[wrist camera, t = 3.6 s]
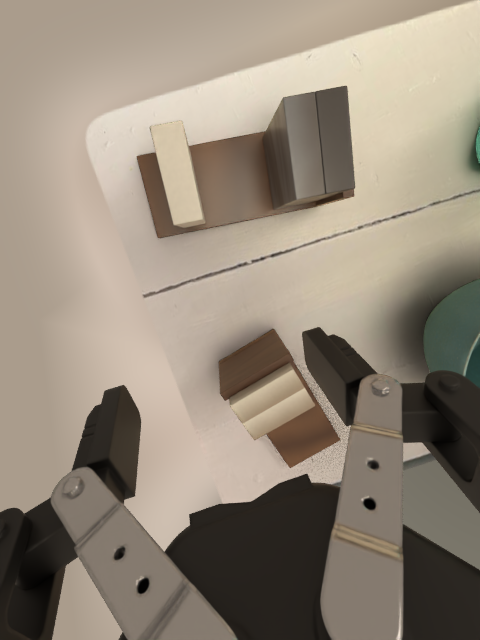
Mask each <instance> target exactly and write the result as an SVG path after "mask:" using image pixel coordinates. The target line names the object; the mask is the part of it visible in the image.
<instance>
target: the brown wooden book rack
mask: <svg viewBox="0 0 480 640" xmlns="http://www.w3.org/2000/svg"><path fill="white" fill-rule="evenodd" d="M293 361H294V359H293V358H292V356H291V354H290V353H289V351H288V350H287V348H286V347H285V345H284V344H283V342H282V341H281V339H280V338H279V336H278V334H277V333H276V331H275V330H274V329H272V330H271V331H269V332H267V333H266V334H264V335H262V336H261V337H259V338H257V339H256V340H254V341H252V342H251V343H249V344H247V345H246V346H244V347H242V348H241V349H239V350H237V351H236V352H234V353H232V354H231V355H229V356H227V357H226V358H224V359H222V360H221V361H219V378H220V394H221V396H222V397H223V398H224V400H225V401H226V400H228V399H229V401H230V407H231V408H232V410H233V411H234V413H235V414H236V415H237V417H238V418H239V420H240V421H241V422H242V424H243V425H244V427H245V428H246V429H247V431H248V432H249V434H250V435H251V436H252V438H253V439H254V440H256V439H258V438H260V437H262V436H263V435H265V434H267V436H268V437H269V438H270V440H271V441H272V443H273V444H274V446H275V447H276V449H277V450H278V451H279V453H280V454H281V456H282V457H283V459H284V460H285V462H286V463H287V465H288V466H289V467H290V468H291V467H293V466H295V465H297V464H298V463H300V462H302V461H304V460H305V459H307V458H309V457H311V456H313V455H314V454H316V453H318V452H320V451H322V450H323V449H325V448H327V447H329V446H331V445H332V444H334V443H336V442H338V441H340V438H339V437H338V435H337V433H336V432H335V430H334V428H333V427H332V425H331V423H330V422H329V420H328V418H327V417H326V415H325V413H324V412H323V410H322V408H321V407H320V405H319V403H318V402H317V400H316V398H315V397H314V395H313V393H312V392H311V390H310V388H309V387H308V385H307V383H306V382H305V380H304V378H303V377H302V375H301V373H300V372H299V370H298V368H297V367H296V365H295V363H294V362H293Z"/></svg>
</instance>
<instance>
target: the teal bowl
mask: <svg viewBox="0 0 480 640" xmlns="http://www.w3.org/2000/svg"><path fill="white" fill-rule="evenodd" d="M423 346H424V354H425V359H426V362H427V365H428V368H429V370H430V373H431V372H433V371H438V370H447V371H453V372H456V373H459V374H461V375H463V376H465V377H466V378H468V379H469V380H470V381H471V382H473V383H474V384H475V385H476V386H478V387H479V388H480V279H477V280H475V281H472V282H470V283H468V284H466V285H464V286H462V287H460V288H459V289H457V290H455V291H454V292H452V293H451V294H449V295H448V296H447V297H445V298H444V299H443V300H442V301H441V302H440V303H439V304H438V305H437V306H436V307H435V308H434V309H433V311H432V312H431V313H430V315H429V317H428V319H427V321H426V324H425V328H424V336H423Z"/></svg>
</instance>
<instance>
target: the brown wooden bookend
mask: <svg viewBox="0 0 480 640" xmlns="http://www.w3.org/2000/svg"><path fill="white" fill-rule="evenodd" d="M189 149H190V153H191V158H192V162H193V167H194V171H195V176H196V181H197V185H198V190H199V195H200V199H201V204H202V209H203V213H204V218H205V224H201V225H196V226H191V227H186V228H183V227H179V226H176V225H174V224H173V220H172V216H171V212H170V208H169V204H168V200H167V196H166V192H165V188H164V184H163V180H162V175H161V171H160V167H159V163H158V159H157V155H156V153H150V154H145V155H140V156H137V160H138V164H139V167H140V171H141V175H142V179H143V183H144V186H145V190H146V194H147V198H148V202H149V206H150V209H151V213H152V217H153V221H154V225H155V228H156V232H157V236H158V238H162V237H167V236H172V235H177V234H182V233H187V232H192V231H197V230H202V229H207V228H212V227H217V226H222V225H227V224H232V223H237V222H242V221H247V220H252V219H257V218H262V217H267V216H272V215H277V214H282V213H287V212H292V211H297V210H302V209H307V208H311V207H316V206H321V205H325V204H329V203H332V202H336V201H339V200H343V199H347V198H350V197H354V188H355V181H354V168H353V155H352V142H351V129H350V116H349V103H348V90H347V86H342V87H336V88H331V89H326V90H320V91H316V92H310V93H305V94H300V95H294V96H289V97H284V98H283V99H282V101H281V103H280V105H279V107H278V109H277V111H276V113H275V114H274V116H273V118H272V120H271V122H270V124H269V126H268V128H267V130H266V131H265V132H260V133H254V134H249V135H244V136H239V137H234V138H228V139H223V140H218V141H213V142H208V143H202V144H197V145H192V146H189Z"/></svg>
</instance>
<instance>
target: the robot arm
mask: <svg viewBox="0 0 480 640" xmlns="http://www.w3.org/2000/svg"><path fill="white" fill-rule="evenodd" d="M302 337H303V346H304V356H305V362H306V365H307V368H308V370H309V372H310V373H311V375H312V376H313V378H314V379H315V381H316V382H317V384H318V385H319V387H320V388H321V389H322V391H323V392H324V394H325V395H326V397H327V398H328V400H329V401H330V403H331V404H332V406H333V407H334V409H335V410H336V412H337V413H338V415H339V416H340V418H341V419H342V421H343V422H344V424H345V425H346V426H349V425H351V428H350V433H349V439H348V445H347V451H346V457H345V463H344V469H343V475H342V481H341V487H338V486H334V485H331V484H326V483H311V481H310V479H309V477H308V474H305V475H302V476H299V477H296V478H293V479H290V480H287V481H285V482H282V483H279V484H277V485H276V486H274V487H273V488H271V489H270V490H268V491H267V492H266V493H264V494H263V495H261V496H260V497H258V498H257V499H255V500H253V501H251V502H243V503H228V504H218V505H215V506H212V507H209V508H206V509H203V510H201V511H198V512H195V513H192V514H189V517H190V526H188V527H187V528H186V529H184V530H183V531H182V532H181V533H180V534H179V535H178V536H177V537H176V538H175V539H174V540H173V541H172V542H171V544H170V545H169V546H168V548H167V549H166V551H165V552H164V551H163V550H162V549H161V548H160V546H159V545H158V544H157V543H156V542H155V541H154V539H153V538H152V537H151V536H150V535H149V534H148V533H147V531H146V530H145V529H144V528H143V527H142V526H141V524H140V523H139V522H138V521H137V520H136V518H135V517H134V516H133V515H132V514H131V513H130V511H129V510H128V509H127V508H126V507H125V506H124V500H125V499H128V498H131V497H134V496H135V489H136V477H137V466H138V454H139V442H140V431H141V418H140V414H139V411H138V408H137V407H136V405H135V403H134V401H133V399H132V397H131V395H130V393H129V392H128V390H127V388H126V387H125V386H124V385H122V386H118V387H115V388H112V389H108V390H106V391H105V392H104V395H103V399H102V403H101V404H100V405H97V406H95V407H94V408H93V410H92V411H91V413H90V414H89V416H88V417H87V420H86V424H85V430H84V431H83V434H82V439H81V441H80V444H79V448H78V451H77V454H76V458H75V461H74V465H73V468H72V471H71V472H70V473H68V474H67V475H66V476H65V477H63V478H62V479H61V480H60V481H59V482H58V484H57V485H56V487H55V488H54V490H53V492H52V496H51V498H49V499H48V500H46V501H45V502H43V503H41V504H40V505H38V506H37V507H35V508H33V509H31V510H30V511H28V512H27V513H25V514H24V513H23V512H22V511H21V510H20V509H18V508H10V509H7V510H4V511H2V512H0V640H52V636H53V631H54V626H55V620H56V615H57V609H58V604H59V599H60V594H61V589H62V583H63V578H64V573H65V567H66V565H67V564H69V563H70V562H71V561H73V560H74V559H76V558H77V557H79V559H80V560H81V562H82V564H83V565H84V567H85V569H86V571H87V572H88V574H89V576H90V577H91V579H92V581H93V582H94V584H95V586H96V587H97V589H98V591H99V592H100V594H101V596H102V598H103V599H104V601H105V603H106V604H107V606H108V608H109V609H110V611H111V613H112V614H113V616H114V618H115V619H116V621H117V623H118V625H119V626H120V628H121V629H122V631H123V632H122V634H121V636H120V638H119V640H480V570H479V569H477V568H475V567H474V566H472V565H470V564H469V563H467V562H465V561H464V560H462V559H460V558H459V557H457V556H455V555H454V554H452V553H450V552H449V551H447V550H445V549H444V548H442V547H440V546H439V545H437V544H435V543H434V542H432V541H430V540H429V539H427V538H425V537H424V536H422V535H420V534H419V533H417V532H415V531H413V530H412V529H410V528H409V527H407V526H405V525H404V524H403V443H412V442H422V443H423V444H424V445H425V446H426V447H427V449H428V450H429V451H430V452H431V454H432V455H433V456H434V457H435V458H436V460H437V461H438V462H439V463H440V464H441V466H442V467H443V468H444V470H445V471H446V472H447V473H448V474H449V476H450V477H451V478H452V479H453V480H454V482H455V483H456V484H457V485H458V487H459V488H460V489H461V490H462V492H463V493H464V494H465V495H466V497H467V498H468V499H469V500H470V501H471V503H472V504H473V505H474V506H475V508H476V509H477V510H478V511H479V513H480V388H479V387H478V386H476V385H475V384H474V383H473V382H471V381H470V380H469V379H468V378H466V377H465V376H463V375H461V374H459V373H456V372H453V371H447V370H438V371H433V372H431V373H429V374H428V375H427V376H426V379H425V383H408V384H402V383H399V382H398V381H397V380H395V379H394V378H392V377H390V376H387V375H383V374H378V373H377V372H376V371H375V370H374V369H373V368H372V367H371V366H370V365H369V364H368V363H367V362H366V361H365V360H364V359H363V358H362V357H361V356H360V355H359V354H358V353H356V351H355V350H354V349H353V348H351V346H350V345H349V344H348V343H347V342H346V341H345V340H344V339H343V338H340V337H338V336H336V335H334V334H333V335H330V336H327V335H326V334H325V332H324V331H323V330H322V329H321V328H320V327H317V328H314V329H311V330H307V331H304V332H303V333H302Z"/></svg>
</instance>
